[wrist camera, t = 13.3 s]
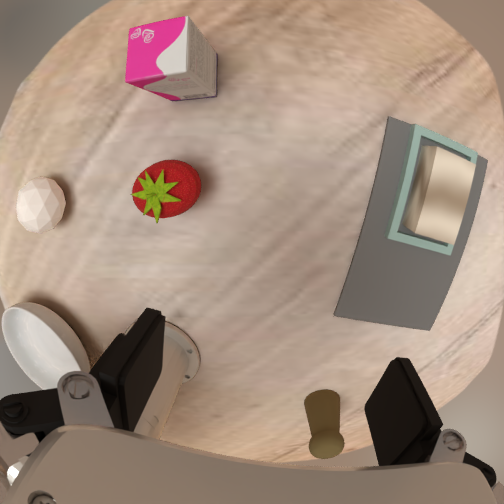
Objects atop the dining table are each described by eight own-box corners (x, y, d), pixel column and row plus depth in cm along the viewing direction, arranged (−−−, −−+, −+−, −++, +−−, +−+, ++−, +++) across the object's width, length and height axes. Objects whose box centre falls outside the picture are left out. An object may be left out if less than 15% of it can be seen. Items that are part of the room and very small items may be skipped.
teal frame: (446, 252, 34) (450, 255, 32) (384, 235, 34) (387, 238, 33) (473, 152, 29) (477, 152, 28) (411, 124, 29) (415, 124, 28)
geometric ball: (61, 184, 38) (32, 157, 31) (84, 210, 37) (51, 182, 29) (32, 221, 37) (0, 200, 29) (51, 251, 35) (15, 231, 27)
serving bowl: (10, 283, 43) (-12, 298, 37) (86, 297, 42) (63, 319, 35) (40, 366, 50) (24, 384, 44) (114, 390, 49) (100, 414, 42)
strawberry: (218, 199, 35) (195, 219, 25) (160, 213, 36) (122, 236, 26) (206, 150, 33) (177, 152, 23) (148, 167, 34) (105, 177, 25)
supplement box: (217, 51, 29) (190, 13, 18) (217, 97, 31) (188, 75, 20) (170, 57, 29) (127, 27, 18) (169, 101, 31) (123, 86, 20)
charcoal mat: (428, 329, 38) (429, 330, 38) (333, 314, 38) (334, 315, 38) (486, 159, 29) (487, 160, 29) (387, 116, 29) (389, 116, 29)
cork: (309, 388, 43) (312, 442, 33) (344, 390, 43) (354, 443, 33) (300, 411, 45) (301, 463, 35) (333, 413, 45) (340, 463, 35)
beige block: (421, 145, 30) (437, 146, 26) (458, 161, 29) (476, 164, 26) (401, 223, 33) (414, 233, 29) (439, 235, 33) (453, 245, 29)
